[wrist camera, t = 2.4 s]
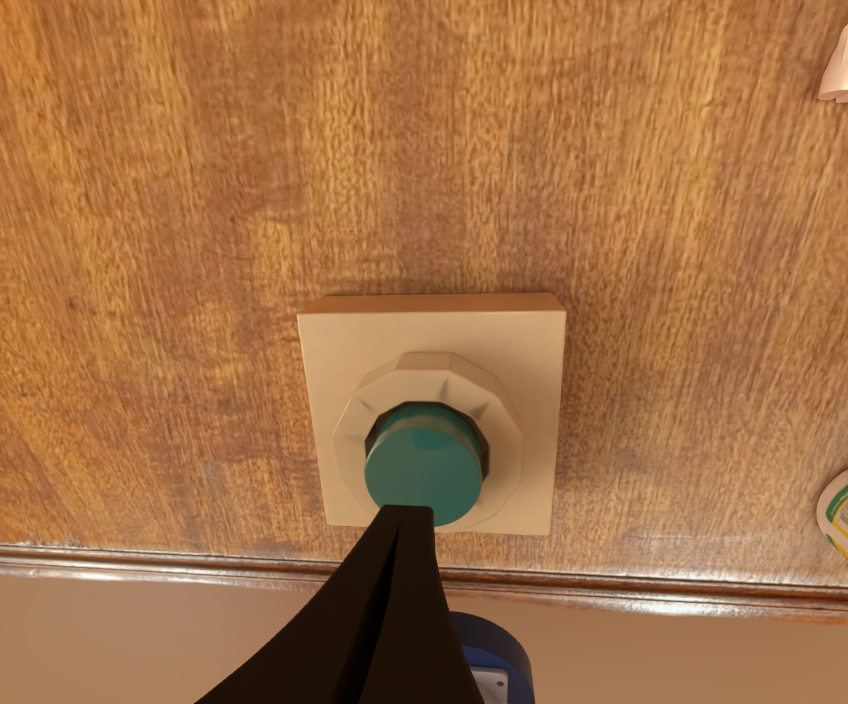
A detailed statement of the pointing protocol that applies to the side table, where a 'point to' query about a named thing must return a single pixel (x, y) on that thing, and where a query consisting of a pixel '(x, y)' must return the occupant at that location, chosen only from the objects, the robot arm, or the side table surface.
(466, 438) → the teal button
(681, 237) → the side table surface
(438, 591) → the robot arm
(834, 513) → the supplement bottle
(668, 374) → the side table surface
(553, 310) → the push button box
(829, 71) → the white creature statuette
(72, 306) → the side table surface
